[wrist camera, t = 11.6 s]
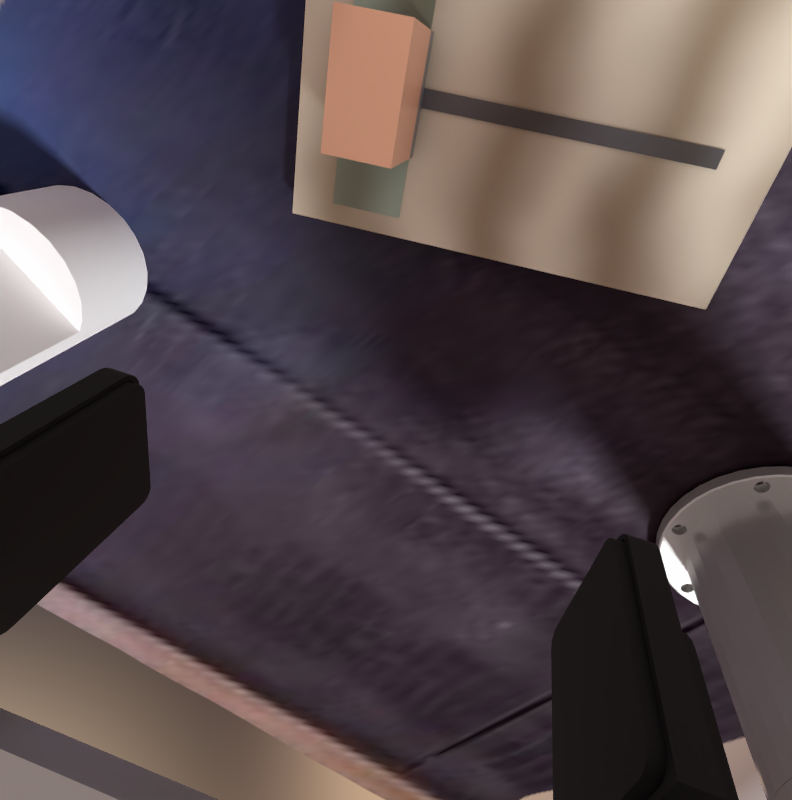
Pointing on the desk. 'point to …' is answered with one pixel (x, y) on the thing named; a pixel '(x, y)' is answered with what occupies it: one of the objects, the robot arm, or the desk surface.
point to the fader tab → (374, 85)
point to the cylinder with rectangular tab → (62, 273)
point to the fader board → (573, 136)
